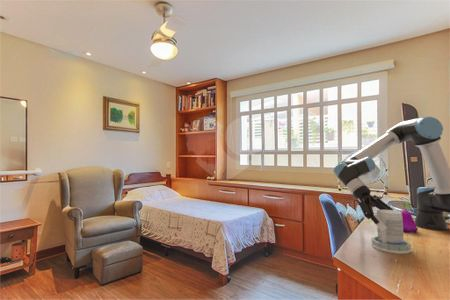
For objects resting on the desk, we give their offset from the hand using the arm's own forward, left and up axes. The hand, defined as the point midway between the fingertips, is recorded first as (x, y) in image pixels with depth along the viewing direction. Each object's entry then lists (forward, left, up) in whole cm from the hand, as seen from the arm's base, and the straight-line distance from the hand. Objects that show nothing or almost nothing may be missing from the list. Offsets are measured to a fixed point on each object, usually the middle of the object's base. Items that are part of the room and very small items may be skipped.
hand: (392, 227), depth 108 cm
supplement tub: (0, -1, -8) cm, 8 cm away
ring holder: (0, -1, -9) cm, 9 cm away
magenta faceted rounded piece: (-30, -26, -9) cm, 41 cm away
